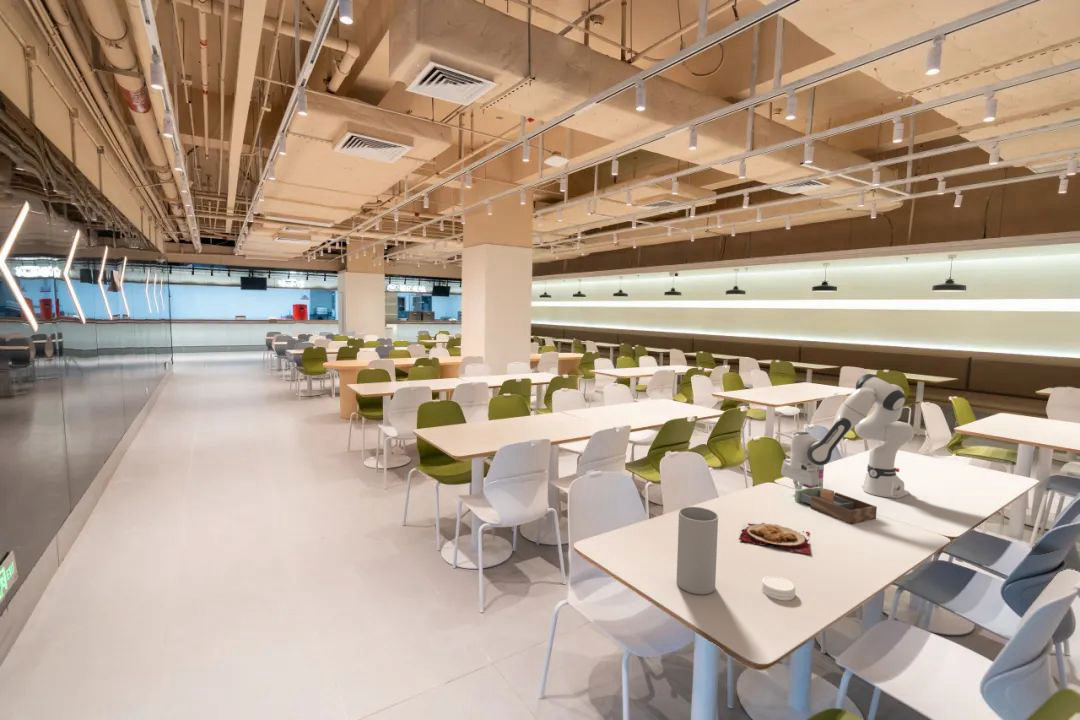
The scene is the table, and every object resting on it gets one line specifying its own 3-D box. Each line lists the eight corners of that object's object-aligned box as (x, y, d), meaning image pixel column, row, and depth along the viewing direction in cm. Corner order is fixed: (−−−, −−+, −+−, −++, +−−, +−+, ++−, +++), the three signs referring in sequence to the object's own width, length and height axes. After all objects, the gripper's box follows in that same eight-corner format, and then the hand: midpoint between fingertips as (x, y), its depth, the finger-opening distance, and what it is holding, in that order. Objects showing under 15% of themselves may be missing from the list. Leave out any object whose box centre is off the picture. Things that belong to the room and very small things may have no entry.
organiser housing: (835, 504, 245) (836, 492, 244) (875, 519, 226) (876, 506, 226) (810, 508, 239) (811, 496, 238) (850, 524, 220) (850, 511, 220)
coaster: (785, 585, 169) (785, 575, 169) (801, 601, 159) (801, 591, 159) (756, 585, 169) (756, 575, 169) (770, 601, 159) (770, 591, 159)
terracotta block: (833, 502, 240) (834, 490, 240) (830, 505, 237) (831, 493, 237) (822, 500, 244) (823, 488, 243) (819, 502, 240) (820, 490, 240)
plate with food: (810, 558, 190) (810, 549, 190) (738, 541, 202) (739, 533, 202) (809, 535, 211) (810, 527, 211) (744, 522, 223) (745, 514, 223)
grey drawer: (819, 497, 253) (819, 486, 253) (856, 511, 235) (856, 499, 235) (794, 501, 247) (795, 490, 247) (830, 515, 229) (831, 503, 229)
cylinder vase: (721, 585, 168) (724, 513, 166) (705, 600, 159) (708, 524, 157) (686, 572, 176) (688, 504, 174) (669, 586, 167) (672, 514, 165)
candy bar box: (823, 489, 267) (824, 459, 266) (817, 490, 265) (818, 460, 264) (804, 482, 278) (806, 454, 276) (798, 483, 275) (799, 454, 274)
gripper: (778, 458, 263) (777, 483, 264) (811, 469, 244) (809, 496, 245) (788, 457, 265) (787, 482, 266) (821, 468, 246) (819, 495, 247)
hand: (798, 489), depth 255 cm, fingers closed
